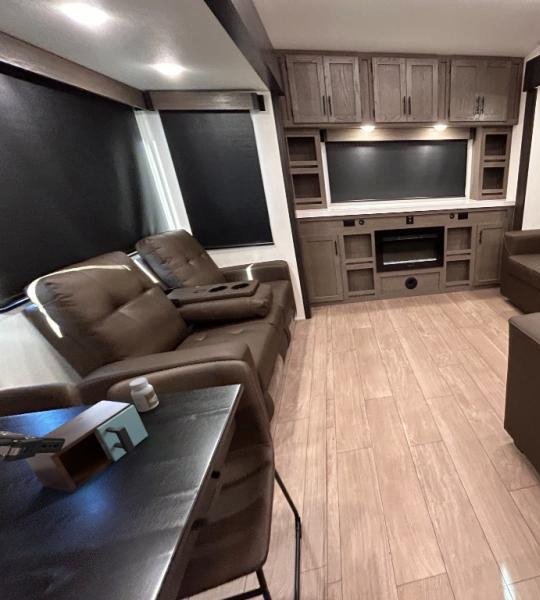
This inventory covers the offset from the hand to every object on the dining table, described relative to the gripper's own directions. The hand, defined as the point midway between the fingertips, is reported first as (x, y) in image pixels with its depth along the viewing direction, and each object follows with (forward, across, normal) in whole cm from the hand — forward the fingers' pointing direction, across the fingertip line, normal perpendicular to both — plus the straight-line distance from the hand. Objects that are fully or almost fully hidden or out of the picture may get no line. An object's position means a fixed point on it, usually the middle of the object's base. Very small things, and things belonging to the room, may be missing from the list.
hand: (59, 444), depth 53 cm
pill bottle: (+25, +14, -7) cm, 29 cm away
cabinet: (+14, +8, +4) cm, 16 cm away
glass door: (+16, +2, +1) cm, 16 cm away
